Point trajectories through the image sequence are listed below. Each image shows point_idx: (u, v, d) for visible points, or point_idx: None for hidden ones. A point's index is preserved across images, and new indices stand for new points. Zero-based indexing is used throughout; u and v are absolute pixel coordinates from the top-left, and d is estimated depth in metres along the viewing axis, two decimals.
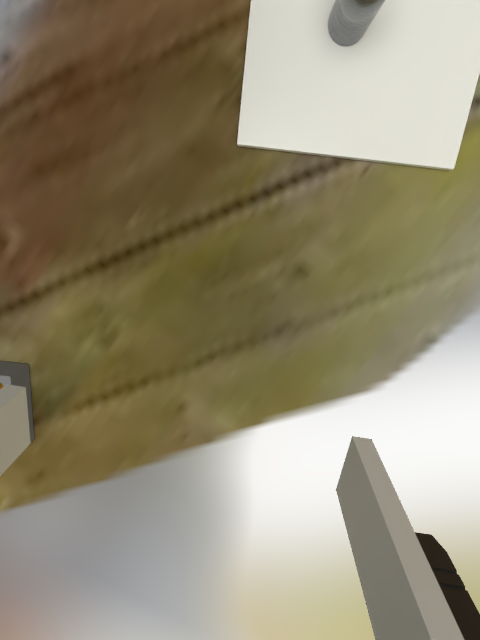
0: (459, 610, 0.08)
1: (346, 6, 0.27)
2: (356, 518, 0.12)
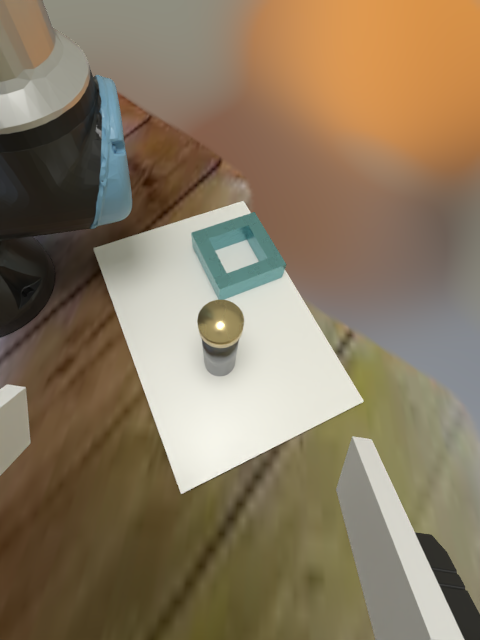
0: (459, 610, 0.08)
1: (214, 361, 0.35)
2: (356, 518, 0.12)
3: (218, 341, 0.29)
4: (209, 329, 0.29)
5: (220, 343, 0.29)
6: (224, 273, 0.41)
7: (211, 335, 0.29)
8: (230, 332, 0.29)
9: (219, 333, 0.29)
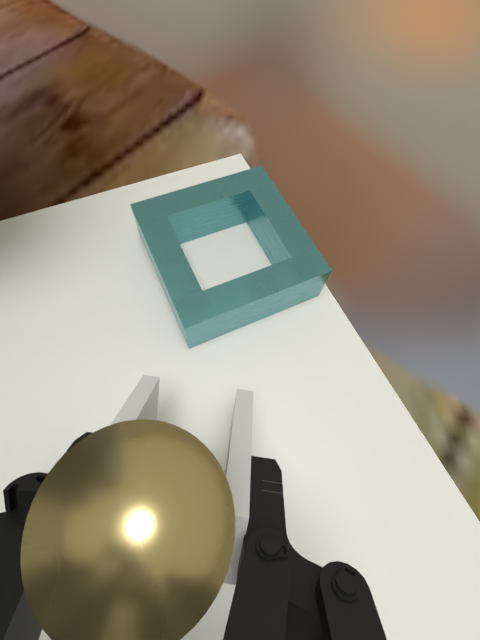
0: (268, 506, 0.11)
1: None
2: None
3: None
4: (71, 584, 0.06)
5: None
6: (197, 291, 0.19)
7: (74, 622, 0.06)
8: (170, 598, 0.06)
9: (117, 607, 0.06)
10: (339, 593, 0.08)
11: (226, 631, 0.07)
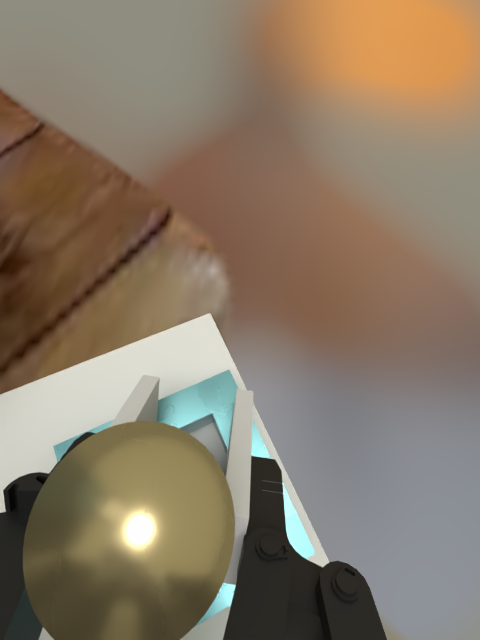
0: (269, 505, 0.11)
1: None
2: None
3: None
4: (73, 584, 0.06)
5: None
6: None
7: (75, 622, 0.06)
8: (171, 598, 0.06)
9: (118, 607, 0.06)
10: (339, 593, 0.08)
11: (226, 631, 0.07)
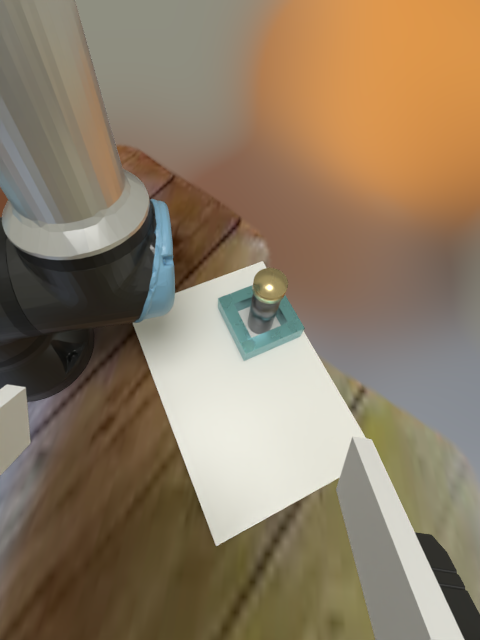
0: (459, 610, 0.08)
1: (260, 319, 0.45)
2: (356, 518, 0.12)
3: (270, 297, 0.39)
4: (263, 289, 0.39)
5: (271, 299, 0.39)
6: (249, 338, 0.46)
7: (264, 293, 0.39)
8: (278, 291, 0.39)
9: (270, 291, 0.39)
10: None
11: None
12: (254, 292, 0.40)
